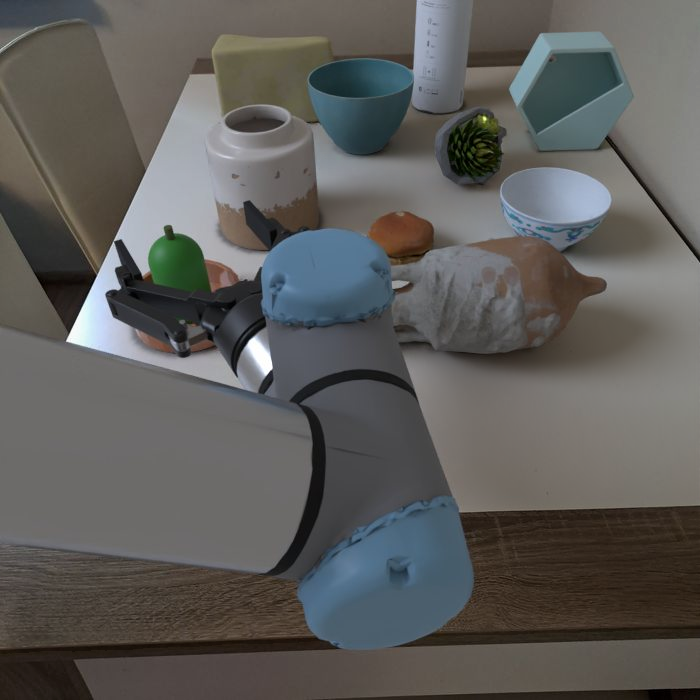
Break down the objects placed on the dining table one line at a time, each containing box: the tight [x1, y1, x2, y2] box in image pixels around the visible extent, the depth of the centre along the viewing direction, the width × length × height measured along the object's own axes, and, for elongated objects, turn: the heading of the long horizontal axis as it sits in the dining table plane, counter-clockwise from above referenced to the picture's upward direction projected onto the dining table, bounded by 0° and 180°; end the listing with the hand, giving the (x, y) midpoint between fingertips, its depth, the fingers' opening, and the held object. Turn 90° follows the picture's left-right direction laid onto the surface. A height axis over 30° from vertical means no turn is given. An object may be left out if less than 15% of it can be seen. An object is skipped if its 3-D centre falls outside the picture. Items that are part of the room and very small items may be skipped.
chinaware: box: [499, 166, 613, 253], centre depth 92 cm, size 15×15×8 cm
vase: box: [204, 104, 320, 251], centre depth 94 cm, size 15×15×17 cm
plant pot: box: [308, 57, 414, 155], centre depth 114 cm, size 18×18×12 cm
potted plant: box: [433, 106, 508, 186], centre depth 104 cm, size 12×13×15 cm
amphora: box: [391, 236, 608, 355], centre depth 76 cm, size 14×16×30 cm
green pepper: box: [147, 224, 212, 324], centre depth 80 cm, size 7×7×13 cm
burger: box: [367, 210, 435, 266], centre depth 92 cm, size 10×9×5 cm
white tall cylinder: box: [411, 0, 474, 115], centre depth 121 cm, size 11×10×26 cm
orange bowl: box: [133, 258, 240, 354], centre depth 83 cm, size 14×14×4 cm
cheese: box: [211, 33, 335, 123], centre depth 122 cm, size 22×10×15 cm, turn 87°
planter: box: [508, 30, 635, 152], centre depth 111 cm, size 17×8×21 cm
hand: (186, 231), depth 66 cm, fingers open, 13 cm apart
